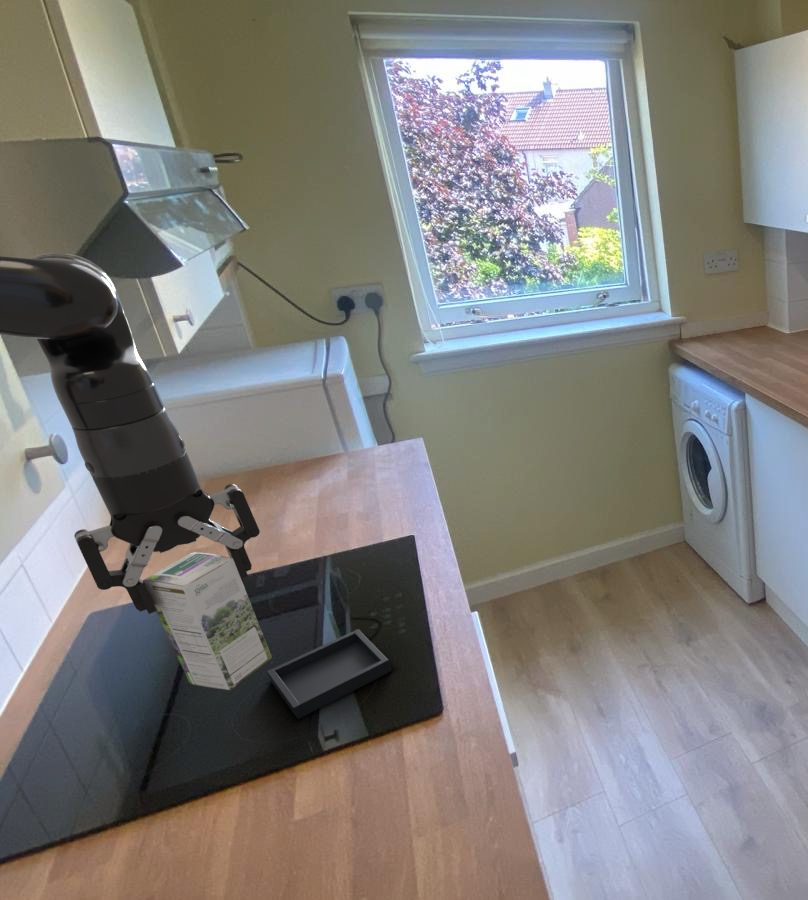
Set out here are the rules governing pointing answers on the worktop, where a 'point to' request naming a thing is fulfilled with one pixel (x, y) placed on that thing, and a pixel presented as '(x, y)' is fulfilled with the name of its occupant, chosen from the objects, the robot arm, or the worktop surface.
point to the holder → (328, 672)
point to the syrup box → (208, 619)
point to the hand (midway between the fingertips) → (198, 591)
